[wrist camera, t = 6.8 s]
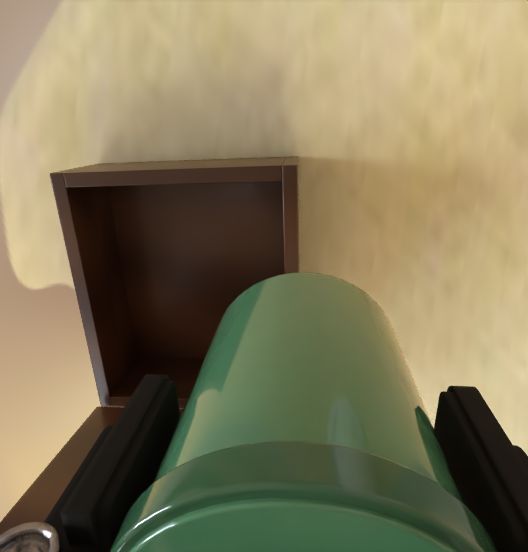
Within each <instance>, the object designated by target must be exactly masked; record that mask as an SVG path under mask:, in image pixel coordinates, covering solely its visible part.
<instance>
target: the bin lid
mask: <svg viewBox="0 0 528 552" xmlns="http://www.w3.org/2000/svg"><path fill="white" fill-rule="evenodd" d="M124 408H125V407H96V409H95V410H94V411H93V412H92V413H91V415H90V416H89V417H88V418H87V419H86V421H85V422H84V423H83V424H82V425H81V427H80V428H79V429H78V430H77V431H76V432H75V434H74V435H73V436H72V437H71V438H70V440H69V441H68V442H67V444H65V446H64V447H63V448H62V449H61V451H60V452H59V453H58V454H57V455H56V457H55V458H54V459H53V460H52V461H51V463H50V464H49V465H48V466H47V467H46V468H45V470H44V471H43V472H42V473H41V474H40V476H39V477H38V478H37V479H36V480H35V481H34V483H33V484H32V485H31V486H30V488H29V489H28V490H27V491H26V492H25V494H24V495H23V496H22V497H21V498H20V499H19V501H18V502H17V503H16V504H15V506H14V507H13V508H12V509H11V510H10V511H9V513H8V514H7V515H6V516H5V517H4V518H3V520H2V521H1V522H0V535H1V534H3V533H4V532H6V531H7V530H9V529H11V528H13V527H16V526H18V525H21V524H24V523H30V522H43V523H44V521H45V520H46V518H47V517H48V515H49V513H50V512H51V510H52V509H53V507H54V506H55V504H56V503H57V501H58V499H59V498H60V496H61V495H62V493H63V492H64V490H65V489H66V487H67V485H68V484H69V482H70V481H71V479H72V478H73V476H74V475H75V473H76V471H77V470H78V468H79V467H80V465H81V464H82V462H83V461H84V459H85V458H86V456H87V454H88V453H89V451H90V450H91V448H92V447H93V445H94V444H95V442H96V440H97V439H98V437H99V436H100V434H101V433H102V431H103V430H104V429H105V428H106V427H107V426H109V425H114V424H115V422H116V421H117V419H118V417H119V416H120V414H121V412H122V411H123V409H124ZM179 411H180V416H181V413H182V411H183V409H179Z"/></svg>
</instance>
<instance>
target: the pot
mask: <svg viewBox="0 0 528 552" xmlns="http://www.w3.org/2000/svg"><path fill="white" fill-rule="evenodd" d="M110 552H498V551H497V549H496V546H495V544H494V542H493V540H492V538H491V536H490V535H489V534H488V532H487V531H486V529H485V528H484V526H483V525H482V524H481V522H480V521H479V520H478V519H477V518H476V517H475V515H474V514H473V513H472V512H471V511H470V510H469V509H468V508H467V507H466V506H465V505H464V503H463V500H462V498H461V495H460V493H459V490H458V488H457V486H456V483H455V481H454V478H453V476H452V473H451V471H450V468H449V466H448V463H447V461H446V458H445V456H444V454H443V451H442V449H441V446H440V444H439V441H438V439H437V436H436V434H435V431H434V429H433V426H432V424H431V421H430V419H429V417H428V414H427V412H426V409H425V407H424V404H423V402H422V399H421V397H420V394H419V392H418V389H417V387H416V385H415V382H414V380H413V377H412V375H411V372H410V370H409V367H408V365H407V362H406V360H405V357H404V355H403V353H402V350H401V348H400V345H399V343H398V340H397V338H396V335H395V333H394V330H393V328H392V326H391V324H390V321H389V319H388V318H387V316H386V314H385V313H384V311H383V310H382V309H381V307H380V306H379V305H378V304H377V303H376V302H375V301H374V300H373V299H372V298H371V297H370V296H369V295H368V294H366V293H365V292H364V291H362V290H361V289H359V288H358V287H356V286H354V285H352V284H350V283H348V282H346V281H344V280H342V279H339V278H335V277H332V276H329V275H324V274H319V273H307V272H302V273H289V274H283V275H278V276H275V277H272V278H268V279H266V280H263V281H261V282H259V283H257V284H255V285H253V286H252V287H250V288H249V289H247V290H245V291H244V292H243V293H242V294H241V295H239V296H238V297H237V298H236V299H235V300H234V301H233V302H232V303H231V305H230V306H229V307H228V309H227V310H226V312H225V313H224V314H223V317H222V319H221V321H220V323H219V325H218V327H217V330H216V332H215V334H214V337H213V339H212V342H211V344H210V346H209V349H208V351H207V354H206V356H205V358H204V361H203V363H202V366H201V368H200V370H199V373H198V375H197V377H196V380H195V382H194V385H193V387H192V389H191V392H190V394H189V397H188V399H187V401H186V404H185V406H184V409H183V411H182V413H181V416H180V418H179V420H178V423H177V425H176V428H175V430H174V432H173V435H172V437H171V440H170V442H169V444H168V447H167V449H166V452H165V454H164V456H163V459H162V461H161V463H160V466H159V468H158V471H157V473H156V475H155V478H154V480H153V483H152V485H151V486H150V487H149V488H148V489H147V490H146V491H145V492H144V493H143V494H141V495H140V496H139V498H138V499H137V500H136V502H135V503H134V504H133V506H132V507H131V508H130V510H129V511H128V513H127V515H126V517H125V519H124V521H123V523H122V525H121V527H120V530H119V532H118V534H117V536H116V538H115V541H114V543H113V545H112V547H111V550H110Z"/></svg>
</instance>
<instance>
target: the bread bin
mask: <svg viewBox="0 0 528 552" xmlns="http://www.w3.org/2000/svg"><path fill="white" fill-rule="evenodd" d="M50 177H51V182H52V186H53V191H54V196H55V200H56V205H57V209H58V214H59V218H60V223H61V227H62V232H63V236H64V241H65V245H66V250H67V254H68V259H69V263H70V268H71V272H72V277H73V282H74V286H75V291H76V295H77V299H78V304H79V309H80V313H81V318H82V322H83V327H84V331H85V336H86V340H87V345H88V349H89V354H90V358H91V363H92V367H93V372H94V376H95V380H96V386H97V390H98V395H99V399H100V404H101V406H102V407H125V406H126V404H127V403H128V401H129V400H130V398H131V396H132V395H133V393H134V392H135V390H136V388H137V387H138V385H139V383H140V382H141V380H142V379H143V377H144V376H145V375H147V374H150V375H167V376H168V377H169V379H170V381H175V383H176V386H177V394H178V403H179V408H184V406H185V404H186V401H187V399H188V397H189V394H190V392H191V389H192V387H193V385H194V382H195V380H196V377H197V375H198V373H199V370H200V368H201V366H202V363H203V361H204V358H205V356H206V354H207V351H208V349H209V346H210V344H211V342H212V339H213V337H214V334H215V332H216V330H217V327H218V325H219V323H220V321H221V319H222V317H223V314H224V313H225V312H226V310H227V309H228V307H229V306H230V305H231V303H232V302H233V301H234V300H235V299H236V298H237V297H238V296H239V295H241V294H242V293H243V292H244V291H245V290H247V289H249V288H250V287H252V286H253V285H255V284H257V283H259V282H261V281H263V280H266V279H268V278H272V277H275V276H278V275H283V274H289V273H299V188H298V157H297V156H295V157H268V158H240V159H213V160H185V161H158V162H130V163H103V164H95V165H89V166H84V167H79V168H74V169H69V170H64V171H59V172H54V173H50Z"/></svg>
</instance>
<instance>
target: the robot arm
mask: <svg viewBox="0 0 528 552" xmlns="http://www.w3.org/2000/svg"><path fill="white" fill-rule="evenodd" d="M179 418H180V411H179V403H178V394H177V386H176V383H175V381H170V379H169V377H168V376H167V375H150V374H147V375H145V376H144V377H143V379H142V380H141V382H140V383H139V385H138V387H137V388H136V390H135V392H134V393H133V395H132V396H131V398H130V400H129V401H128V403H127V404H126V406H125V408H124V409H123V411H122V412H121V414H120V416H119V417H118V419H117V421H116V422H115V424H114V425H109V426H107V427H106V428H105V429H104V430H103V431H102V433H101V434H100V436H99V437H98V439H97V440H96V442H95V444H94V445H93V447H92V448H91V450H90V451H89V453H88V454H87V456H86V458H85V459H84V461H83V462H82V464H81V465H80V467H79V468H78V470H77V471H76V473H75V475H74V476H73V478H72V479H71V481H70V482H69V484H68V485H67V487H66V489H65V490H64V492H63V493H62V495H61V496H60V498H59V499H58V501H57V503H56V504H55V506H54V507H53V509H52V510H51V512H50V513H49V515H48V517H47V518H46V520H45V521H44V523H43V522H30V523H24V524H21V525H18V526H16V527H13V528H11V529H9V530H7V531H6V532H4V533H3V534H1V535H0V552H110V550H111V547H112V545H113V543H114V541H115V538H116V536H117V534H118V532H119V530H120V527H121V525H122V523H123V521H124V519H125V517H126V515H127V513H128V511H129V510H130V508H131V507H132V506H133V504H134V503H135V502H136V500H137V499H138V498H139V496H140V495H141V494H143V493H144V492H145V491H146V490H147V489H148V488H149V487H150V486H151V485H152V483H153V480H154V478H155V475H156V473H157V471H158V468H159V466H160V463H161V461H162V459H163V456H164V454H165V452H166V449H167V447H168V444H169V442H170V440H171V437H172V435H173V432H174V430H175V428H176V425H177V423H178V420H179ZM434 431H435V434H436V436H437V439H438V441H439V444H440V446H441V449H442V451H443V454H444V456H445V458H446V461H447V463H448V466H449V468H450V471H451V473H452V476H453V478H454V481H455V483H456V486H457V488H458V490H459V493H460V495H461V498H462V500H463V503H464V505H465V506H466V507H467V508H468V509H469V510H470V511H471V512H472V513H473V514H474V515H475V517H476V518H477V519H478V520H479V521H480V522H481V524H482V525H483V526H484V528H485V529H486V531H487V532H488V534H489V535H490V536H491V538H492V540H493V542H494V544H495V546H496V549H497V551H498V552H528V456H527V455H526V453H525V452H524V451H523V450H522V449H521V448H520V447H518V446H513V445H512V443H511V442H510V440H509V439H508V437H507V435H506V434H505V432H504V431H503V429H502V427H501V426H500V424H499V423H498V421H497V420H496V418H495V416H494V415H493V413H492V412H491V410H490V408H489V407H488V405H487V404H486V402H485V400H484V399H483V397H482V396H481V394H480V392H479V391H478V390H477V388H475V387H467V386H450V387H449V388H448V390H447V392H441V393H440V396H439V402H438V408H437V414H436V420H435V427H434Z"/></svg>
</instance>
